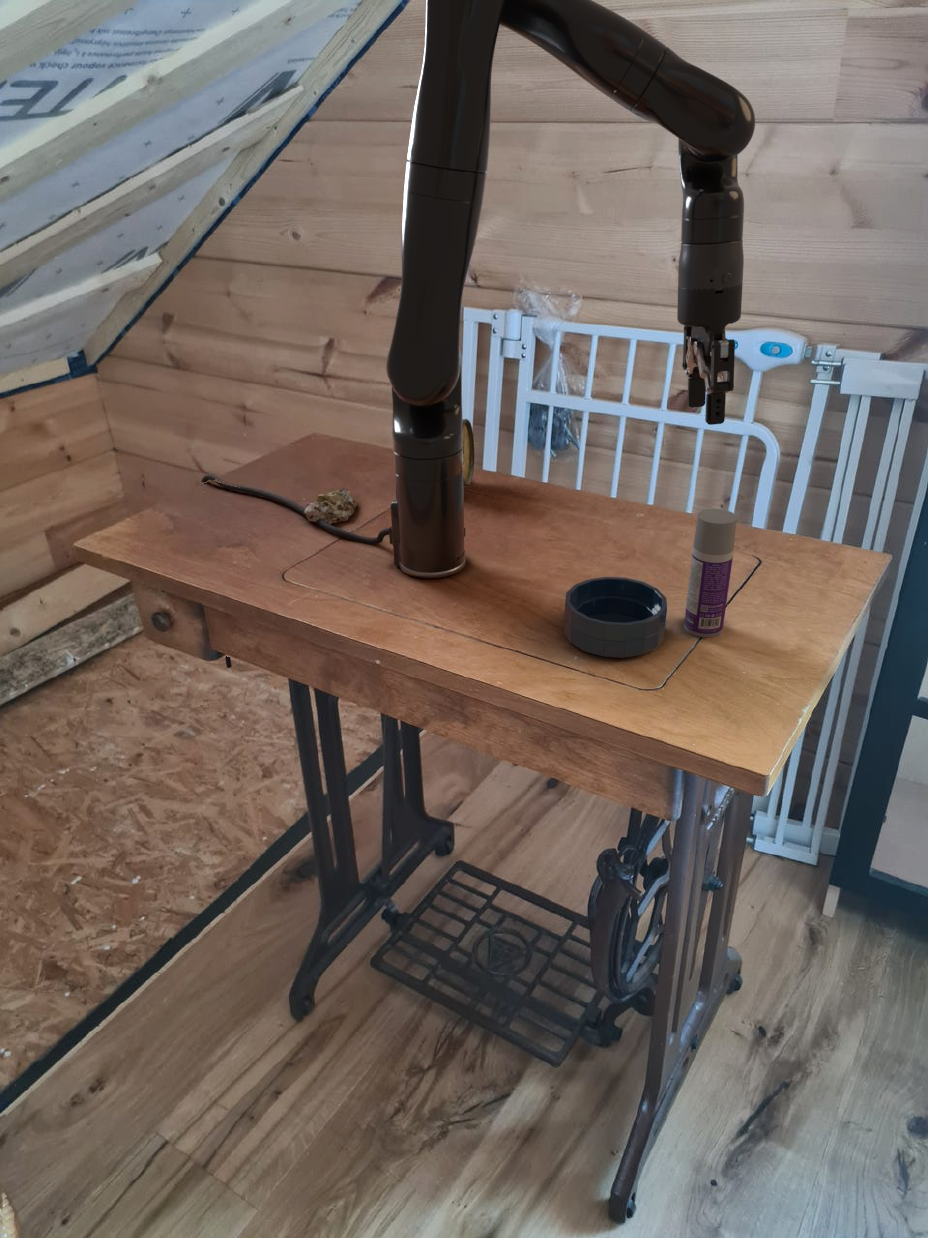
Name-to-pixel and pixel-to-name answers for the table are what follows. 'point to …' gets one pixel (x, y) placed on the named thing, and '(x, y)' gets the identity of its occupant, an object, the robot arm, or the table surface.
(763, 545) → the table surface
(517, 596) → the table surface
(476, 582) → the table surface
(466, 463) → the alarm clock
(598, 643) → the bowl
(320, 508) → the mineral rock
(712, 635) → the container
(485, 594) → the table surface
